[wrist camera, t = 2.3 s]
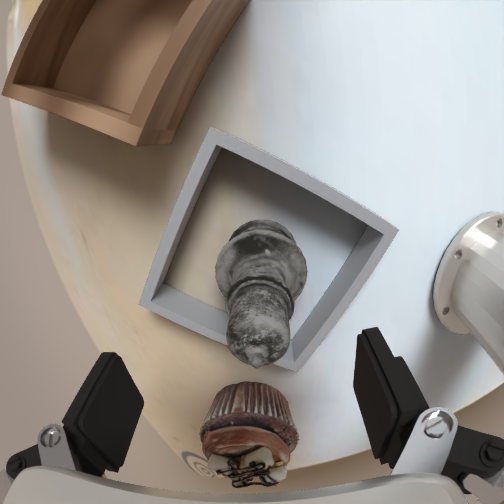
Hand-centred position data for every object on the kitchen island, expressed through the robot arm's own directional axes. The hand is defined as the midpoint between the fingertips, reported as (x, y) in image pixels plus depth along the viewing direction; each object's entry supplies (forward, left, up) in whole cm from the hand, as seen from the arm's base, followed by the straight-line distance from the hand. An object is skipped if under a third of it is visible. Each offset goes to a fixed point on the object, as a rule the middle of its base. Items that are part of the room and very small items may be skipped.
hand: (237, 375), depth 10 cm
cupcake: (-8, +16, -13) cm, 22 cm away
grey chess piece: (-1, 0, -13) cm, 13 cm away
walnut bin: (+15, -11, -13) cm, 23 cm away
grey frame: (-1, 0, -13) cm, 13 cm away
